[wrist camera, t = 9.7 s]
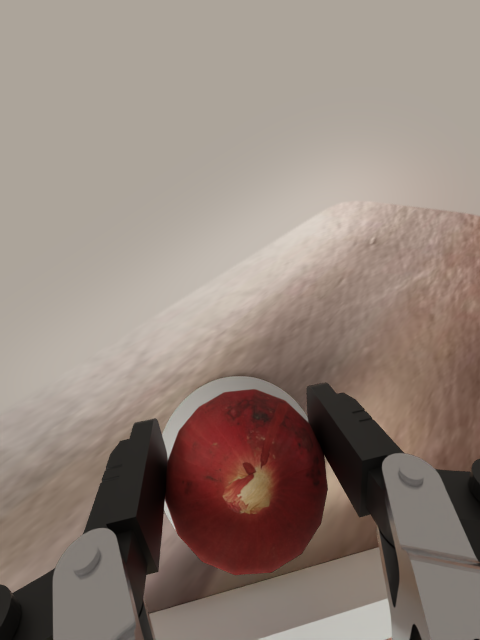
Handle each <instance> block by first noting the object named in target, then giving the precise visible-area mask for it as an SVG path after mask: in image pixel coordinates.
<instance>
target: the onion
mask: <svg viewBox="0 0 480 640" xmlns="http://www.w3.org/2000/svg"><path fill="white" fill-rule="evenodd" d="M327 490H328V487H327V479H326V469H325V459H324V453H323V451H322V448H321V446H320V444H319V442H318V440H317V438H316V436H315V434H314V432H313V430H312V428H311V426H310V424H309V422H308V421H306V420H305V419H304V418H303V417H302V416H301V415H300V414H299V413H298V412H297V411H296V410H295V409H294V408H293V407H292V406H291V405H290V404H289V403H287V402H286V401H285V400H283V399H280V398H278V397H275V396H272V395H270V394H267V393H264V392H262V391H259V390H256V389H250V390H240V391H230V392H224V393H222V394H220V395H218V396H217V397H215V398H213V399H212V400H210V401H208V402H206V403H205V404H203V405H201V406H199V407H198V408H197V409H196V411H195V412H194V413H193V414H192V415H191V417H190V418H189V419H188V420H187V421H186V423H185V424H184V425H183V426H182V427H181V428H180V430H179V431H178V434H177V437H176V440H175V442H174V445H173V448H172V451H171V453H170V456H169V459H168V462H167V475H166V488H165V501H166V504H167V507H168V509H169V512H170V515H171V518H172V520H173V523H174V526H175V529H176V531H177V534H178V536H179V537H180V538H181V539H182V540H183V541H184V542H185V543H186V544H187V545H188V547H189V548H190V549H191V550H192V551H193V552H194V553H195V554H196V555H197V556H198V557H199V559H200V560H201V561H202V562H204V563H207V564H209V565H212V566H214V567H216V568H219V569H221V570H224V571H226V572H229V573H231V574H234V575H243V574H258V573H271V572H273V571H275V570H276V569H278V568H280V567H281V566H283V565H284V564H286V563H288V562H289V561H291V560H292V559H294V558H296V557H297V556H299V555H301V554H302V553H303V551H304V549H305V548H306V546H307V545H308V543H309V542H310V540H311V538H312V537H313V535H314V534H315V532H316V530H317V529H318V527H319V526H320V524H321V521H322V516H323V511H324V506H325V500H326V495H327Z"/></svg>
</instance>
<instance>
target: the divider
mask: <svg viewBox="0 0 480 640" xmlns="http://www.w3.org/2000/svg"><path fill="white" fill-rule="evenodd" d="M149 616H150V620H151V624H152V628H153V631H154V635H155V639H156V640H385V639H388V638H391V637H392V626H391V615H390V608H389V602H388V596H387V591H386V585H385V579H384V573H383V568H382V562H381V556H380V550H379V547H377V548H374V549H370V550H367V551H364V552H360V553H357V554H353V555H350V556H346V557H343V558H339V559H336V560H333V561H329V562H326V563H322V564H319V565H315V566H312V567H309V568H305V569H302V570H298V571H295V572H291V573H288V574H285V575H281V576H278V577H274V578H271V579H267V580H264V581H260V582H257V583H254V584H250V585H247V586H243V587H240V588H236V589H233V590H230V591H226V592H223V593H219V594H216V595H212V596H209V597H206V598H202V599H199V600H195V601H192V602H188V603H185V604H181V605H178V606H175V607H171V608H168V609H164V610H161V611H157V612H154V613H151V614H149Z"/></svg>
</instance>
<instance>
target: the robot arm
mask: <svg viewBox="0 0 480 640" xmlns="http://www.w3.org/2000/svg"><path fill="white" fill-rule="evenodd" d="M307 413H308V422H309V424H310V426H311V428H312V430H313V432H314V434H315V436H316V438H317V440H318V442H319V444H320V446H321V448H322V451H323V453H324V455H325V457H326V459H327V461H328V462H329V464H330V466H331V468H332V470H333V471H334V473H335V475H336V477H337V478H338V480H339V482H340V484H341V486H342V487H343V489H344V491H345V493H346V494H347V496H348V498H349V500H350V502H351V503H352V505H353V507H354V509H355V510H356V512H357V514H358V516H359V517H363V516H366V515H370V514H371V516H372V517H373V519H374V521H375V522H376V524H377V529H376V532H377V539H378V545H379V550H380V556H381V562H382V568H383V573H384V579H385V585H386V591H387V596H388V602H389V608H390V615H391V626H392V640H480V459H478V460H476V461H475V462H474V463H473V465H472V468H471V472H465V471H449V470H437V469H434V468H433V467H432V466H431V465H430V464H428V463H427V462H426V461H424V460H422V459H420V458H418V457H416V456H413V455H410V454H405V453H404V452H403V451H402V450H401V449H400V448H399V447H398V446H397V445H396V444H395V443H394V442H393V440H392V439H391V438H390V437H389V436H388V435H387V434H386V433H385V432H384V430H383V429H382V428H381V427H380V426H379V425H378V424H377V423H376V422H375V421H374V420H372V417H371V416H370V415H369V414H368V413H367V412H365V410H364V408H363V407H362V406H361V405H360V404H359V403H358V402H357V401H356V400H355V399H354V398H352V397H350V396H348V395H347V394H345V393H339V394H336V393H335V391H334V390H333V389H332V388H331V386H330V385H329V384H328V383H321V384H316V385H311V386H308V387H307ZM167 462H168V457H167V451H166V447H165V444H164V440H163V437H162V434H161V430H160V427H159V424H158V421H157V419H156V418H155V419H150V420H145V421H141V422H136V423H134V425H133V428H132V432H131V436H130V439H127V440H123V441H120V442H119V444H118V445H117V446H116V448H115V449H114V450H113V451H112V453H111V454H110V457H109V460H108V463H107V466H106V471H105V472H104V475H103V478H102V483H100V486H99V489H98V492H97V495H96V498H95V501H94V504H93V507H92V510H91V513H90V516H89V519H88V522H87V525H86V528H85V530H84V533H83V535H82V536H80V537H79V538H78V539H76V540H75V541H74V542H73V543H72V544H71V545H70V546H69V547H68V548H67V549H66V551H65V552H64V553H63V555H62V556H61V558H60V560H59V562H58V563H57V566H56V568H54V569H53V570H51V571H50V572H48V573H47V574H45V575H43V576H42V577H40V578H38V579H36V580H35V581H33V582H31V583H30V584H28V585H26V586H24V587H23V588H21V589H19V590H18V591H16V592H14V593H11V591H10V590H9V589H8V588H7V587H6V586H4V585H0V640H156V639H155V635H154V631H153V628H152V624H151V620H150V616H149V613H148V609H147V605H146V601H145V598H144V588H145V580H146V575H148V574H152V573H155V572H158V568H159V558H160V547H161V536H162V525H163V514H164V503H165V488H166V475H167Z"/></svg>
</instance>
